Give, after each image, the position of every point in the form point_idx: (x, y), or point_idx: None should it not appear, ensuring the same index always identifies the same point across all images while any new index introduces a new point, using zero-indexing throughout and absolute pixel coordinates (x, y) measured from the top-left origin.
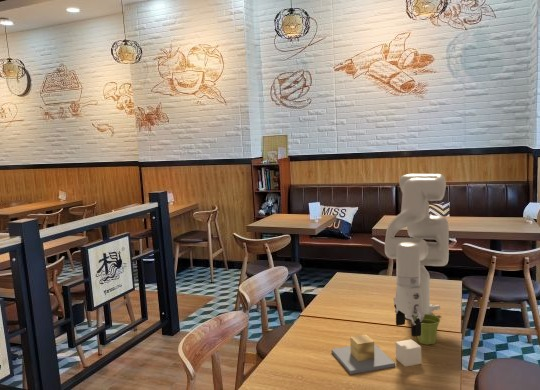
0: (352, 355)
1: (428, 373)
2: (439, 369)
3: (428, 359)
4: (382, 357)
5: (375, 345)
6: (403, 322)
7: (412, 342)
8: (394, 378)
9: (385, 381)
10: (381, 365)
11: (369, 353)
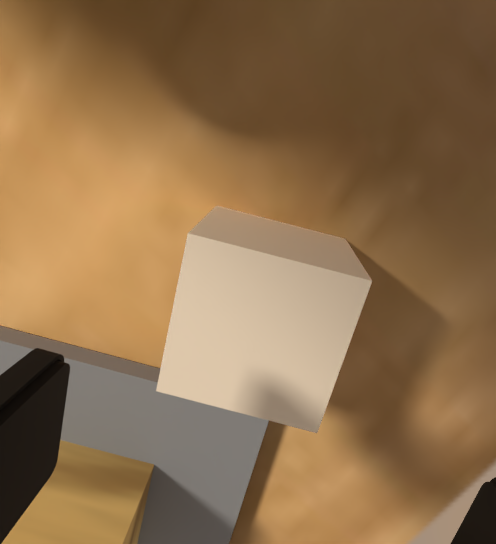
0: None
1: (467, 301)
2: (488, 194)
3: (334, 141)
4: (169, 421)
5: (3, 345)
6: (48, 405)
7: (249, 277)
8: (369, 488)
9: (360, 538)
10: (246, 489)
11: (136, 524)
